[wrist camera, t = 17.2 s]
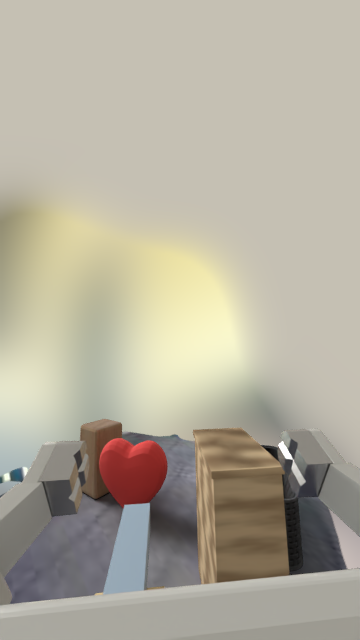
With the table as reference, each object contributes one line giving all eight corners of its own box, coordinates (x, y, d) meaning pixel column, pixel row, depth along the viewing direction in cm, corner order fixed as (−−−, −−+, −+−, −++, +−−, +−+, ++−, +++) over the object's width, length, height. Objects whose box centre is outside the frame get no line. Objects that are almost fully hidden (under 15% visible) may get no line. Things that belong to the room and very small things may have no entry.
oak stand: (301, 686, 30) (284, 466, 34) (219, 698, 30) (211, 471, 33) (248, 561, 49) (241, 427, 52) (196, 566, 48) (193, 429, 52)
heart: (172, 509, 66) (171, 437, 69) (161, 531, 58) (160, 448, 60) (108, 499, 71) (109, 432, 74) (90, 518, 63) (92, 442, 66)
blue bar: (127, 914, 12) (128, 809, 12) (42, 932, 11) (47, 824, 12) (150, 531, 37) (150, 503, 38) (124, 533, 37) (124, 504, 38)
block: (77, 490, 76) (79, 424, 79) (104, 477, 84) (105, 417, 87) (95, 501, 70) (97, 429, 73) (122, 486, 78) (123, 421, 81)
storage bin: (307, 576, 46) (301, 499, 48) (206, 556, 50) (204, 487, 52) (283, 492, 73) (280, 445, 75) (220, 485, 78) (218, 441, 80)
